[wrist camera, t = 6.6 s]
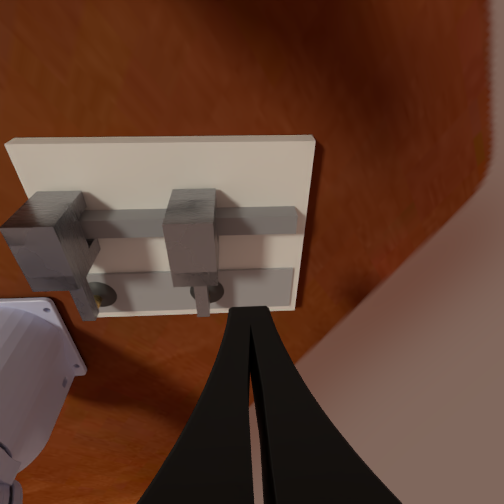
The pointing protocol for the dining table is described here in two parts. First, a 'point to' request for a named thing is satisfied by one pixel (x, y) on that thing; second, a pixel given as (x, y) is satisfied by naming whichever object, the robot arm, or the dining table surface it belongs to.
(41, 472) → the dining table surface
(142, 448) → the dining table surface
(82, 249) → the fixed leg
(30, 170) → the board
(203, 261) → the grey sliding bolt
